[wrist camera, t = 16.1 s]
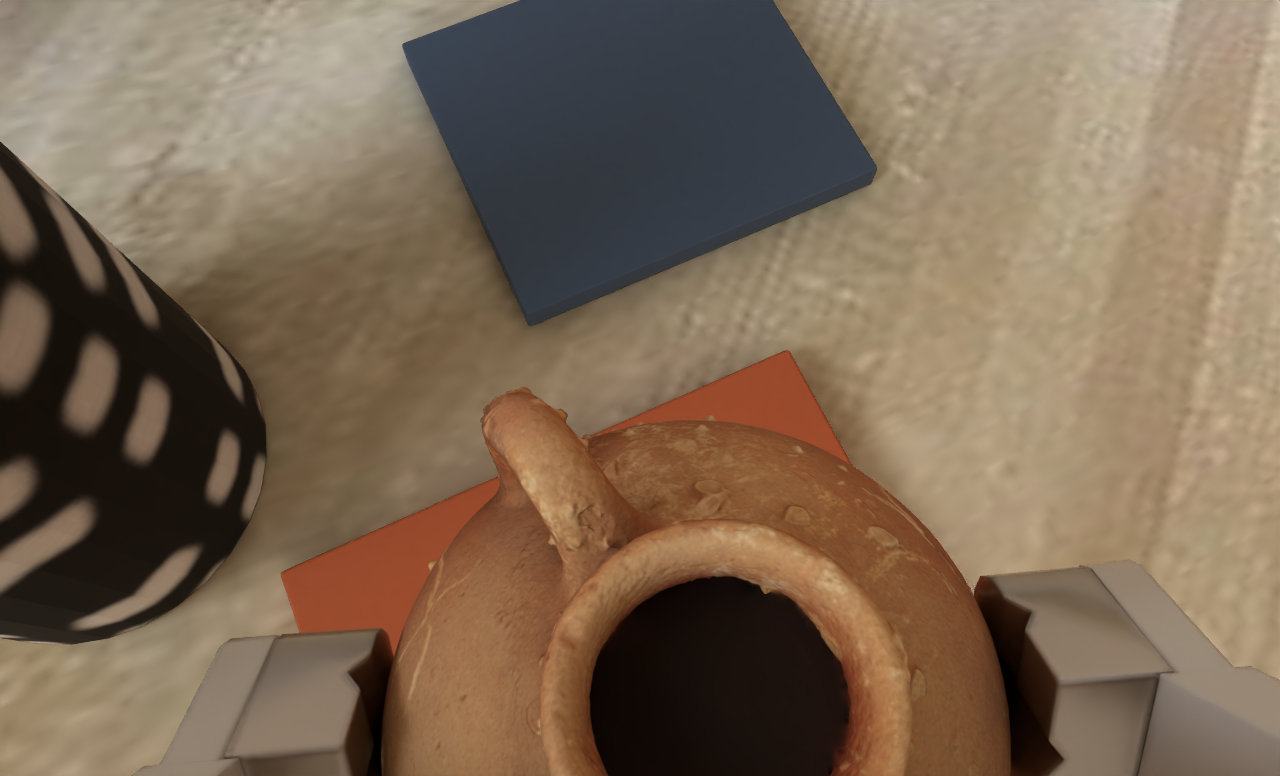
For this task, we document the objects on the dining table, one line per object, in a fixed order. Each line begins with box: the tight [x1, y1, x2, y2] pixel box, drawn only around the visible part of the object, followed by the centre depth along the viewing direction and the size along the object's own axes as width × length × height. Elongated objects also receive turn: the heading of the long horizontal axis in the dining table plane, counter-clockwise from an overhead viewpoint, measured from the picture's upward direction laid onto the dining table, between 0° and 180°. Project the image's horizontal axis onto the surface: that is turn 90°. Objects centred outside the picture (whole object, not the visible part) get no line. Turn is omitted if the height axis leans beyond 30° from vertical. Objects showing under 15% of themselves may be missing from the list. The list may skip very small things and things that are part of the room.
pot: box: [381, 387, 1011, 776], centre depth 10 cm, size 6×8×6 cm
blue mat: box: [402, 0, 877, 326], centre depth 26 cm, size 9×10×1 cm
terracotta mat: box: [281, 350, 852, 655], centre depth 21 cm, size 13×13×1 cm
